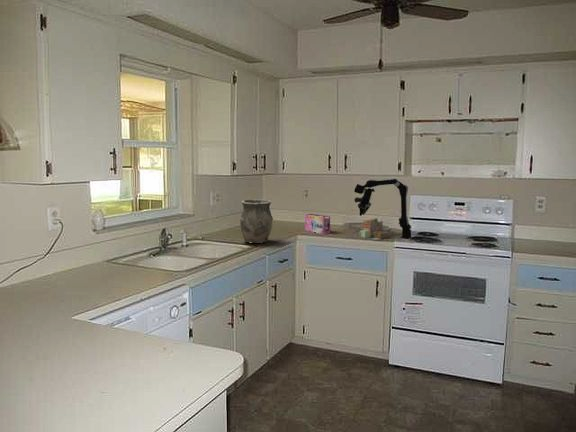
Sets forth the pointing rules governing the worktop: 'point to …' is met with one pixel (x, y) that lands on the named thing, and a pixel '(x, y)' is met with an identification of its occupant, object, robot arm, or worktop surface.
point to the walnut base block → (381, 234)
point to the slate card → (375, 239)
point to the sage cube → (365, 233)
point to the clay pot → (256, 220)
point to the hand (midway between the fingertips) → (361, 215)
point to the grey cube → (387, 230)
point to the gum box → (317, 223)
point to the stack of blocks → (372, 225)
